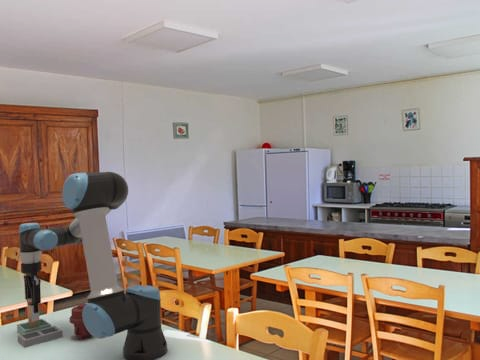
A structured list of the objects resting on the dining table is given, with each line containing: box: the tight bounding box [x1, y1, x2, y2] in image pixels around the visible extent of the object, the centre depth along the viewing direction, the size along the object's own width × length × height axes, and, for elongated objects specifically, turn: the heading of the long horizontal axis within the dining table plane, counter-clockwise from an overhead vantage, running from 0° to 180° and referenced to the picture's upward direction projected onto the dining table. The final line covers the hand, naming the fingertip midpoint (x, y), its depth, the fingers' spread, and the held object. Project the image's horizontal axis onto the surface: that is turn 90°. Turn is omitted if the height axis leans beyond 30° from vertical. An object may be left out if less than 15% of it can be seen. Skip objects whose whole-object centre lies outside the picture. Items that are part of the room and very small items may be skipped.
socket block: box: [17, 325, 64, 348], centre depth 174 cm, size 8×14×2 cm, turn 132°
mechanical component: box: [68, 303, 93, 341], centre depth 175 cm, size 12×10×10 cm
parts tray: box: [16, 318, 52, 335], centre depth 182 cm, size 10×10×3 cm
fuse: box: [26, 298, 40, 329], centre depth 182 cm, size 4×4×12 cm
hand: (33, 319), depth 182 cm, fingers closed on fuse, 4 cm apart
